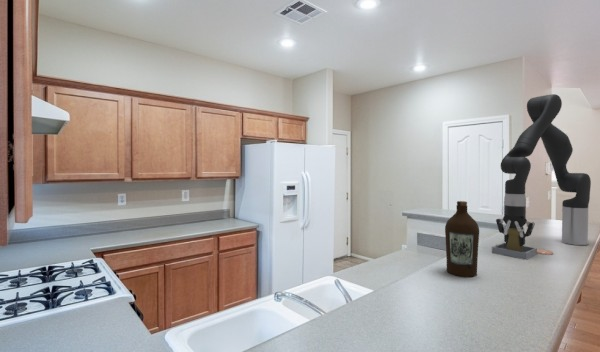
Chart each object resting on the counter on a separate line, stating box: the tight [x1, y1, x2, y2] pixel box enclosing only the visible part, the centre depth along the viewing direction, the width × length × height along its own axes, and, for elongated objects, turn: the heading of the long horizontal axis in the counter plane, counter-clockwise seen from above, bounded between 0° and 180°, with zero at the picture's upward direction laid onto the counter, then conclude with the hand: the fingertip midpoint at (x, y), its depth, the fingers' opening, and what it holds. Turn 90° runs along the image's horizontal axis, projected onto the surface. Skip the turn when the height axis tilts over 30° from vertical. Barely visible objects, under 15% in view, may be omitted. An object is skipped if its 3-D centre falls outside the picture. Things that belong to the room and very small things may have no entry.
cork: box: [507, 228, 523, 252], centre depth 132 cm, size 6×6×11 cm
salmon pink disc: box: [537, 248, 554, 256], centre depth 133 cm, size 7×7×1 cm
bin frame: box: [491, 242, 538, 260], centre depth 132 cm, size 12×12×2 cm
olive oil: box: [444, 200, 480, 278], centre depth 109 cm, size 11×11×25 cm
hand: (514, 244), depth 132 cm, fingers closed on cork, 4 cm apart
